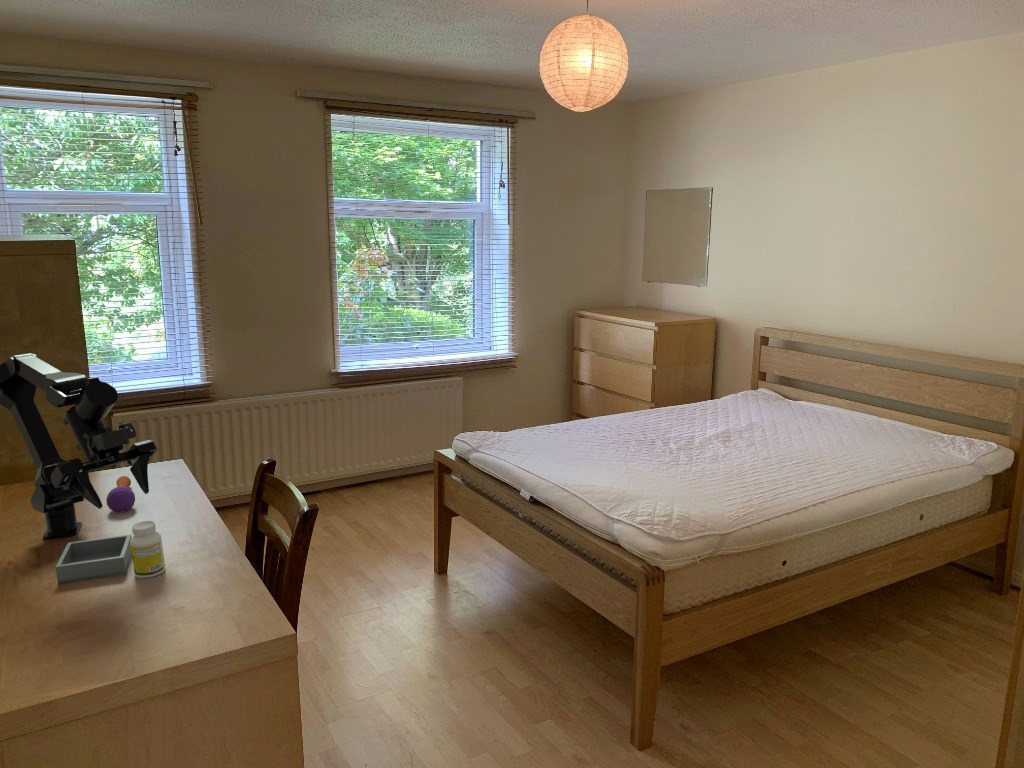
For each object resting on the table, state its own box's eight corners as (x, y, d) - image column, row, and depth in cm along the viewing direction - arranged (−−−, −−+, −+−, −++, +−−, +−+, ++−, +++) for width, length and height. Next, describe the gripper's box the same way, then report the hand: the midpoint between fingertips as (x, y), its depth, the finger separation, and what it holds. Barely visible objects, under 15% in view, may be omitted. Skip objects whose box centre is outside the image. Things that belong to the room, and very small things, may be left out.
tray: (70, 558, 152) (68, 542, 151) (133, 550, 155) (131, 534, 154) (58, 584, 141) (55, 567, 140) (125, 574, 145) (123, 557, 144)
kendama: (137, 471, 192) (136, 490, 174) (135, 494, 193) (133, 515, 175) (111, 470, 190) (106, 489, 172) (109, 493, 190) (104, 515, 172)
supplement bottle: (140, 566, 148) (134, 519, 146) (169, 565, 148) (163, 518, 146) (129, 579, 143) (123, 531, 140) (159, 578, 143) (153, 529, 141)
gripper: (52, 422, 137) (89, 497, 135) (150, 401, 152) (185, 468, 150) (35, 451, 144) (70, 522, 141) (131, 428, 159) (163, 492, 156)
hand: (124, 500), depth 147 cm, fingers open, 9 cm apart
